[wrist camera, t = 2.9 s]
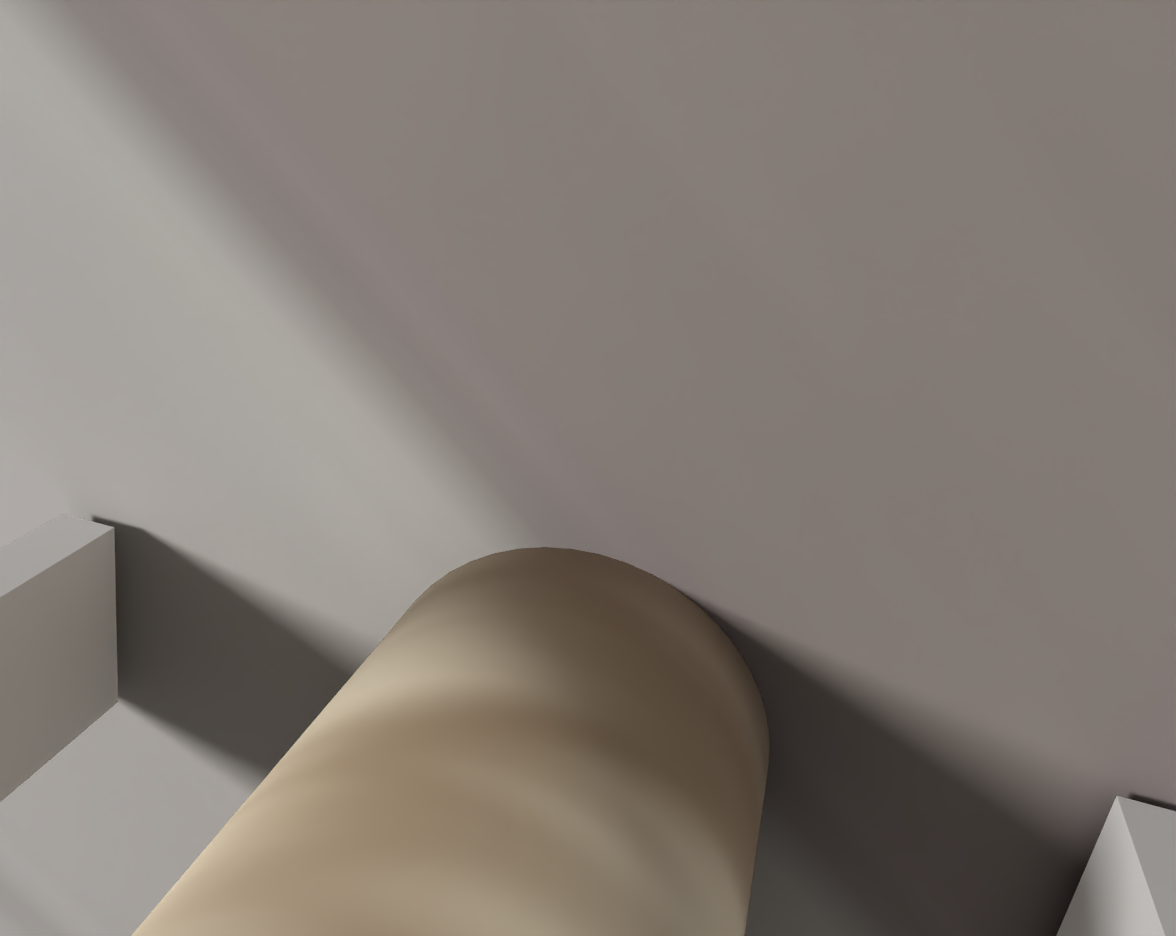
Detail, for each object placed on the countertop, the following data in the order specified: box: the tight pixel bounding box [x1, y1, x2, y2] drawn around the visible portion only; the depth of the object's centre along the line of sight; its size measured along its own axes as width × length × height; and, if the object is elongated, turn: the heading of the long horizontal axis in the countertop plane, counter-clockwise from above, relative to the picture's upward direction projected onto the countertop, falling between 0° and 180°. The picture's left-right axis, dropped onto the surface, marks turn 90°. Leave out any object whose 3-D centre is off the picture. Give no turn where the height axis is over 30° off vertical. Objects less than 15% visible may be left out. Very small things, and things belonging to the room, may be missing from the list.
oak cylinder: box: [132, 547, 770, 936], centre depth 11 cm, size 5×5×6 cm
